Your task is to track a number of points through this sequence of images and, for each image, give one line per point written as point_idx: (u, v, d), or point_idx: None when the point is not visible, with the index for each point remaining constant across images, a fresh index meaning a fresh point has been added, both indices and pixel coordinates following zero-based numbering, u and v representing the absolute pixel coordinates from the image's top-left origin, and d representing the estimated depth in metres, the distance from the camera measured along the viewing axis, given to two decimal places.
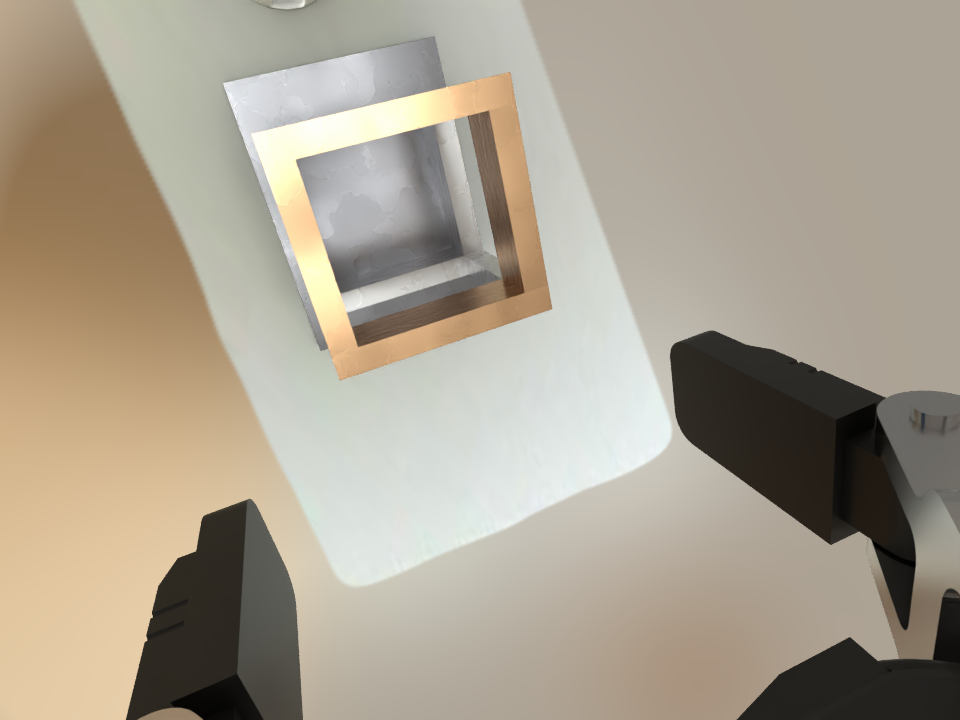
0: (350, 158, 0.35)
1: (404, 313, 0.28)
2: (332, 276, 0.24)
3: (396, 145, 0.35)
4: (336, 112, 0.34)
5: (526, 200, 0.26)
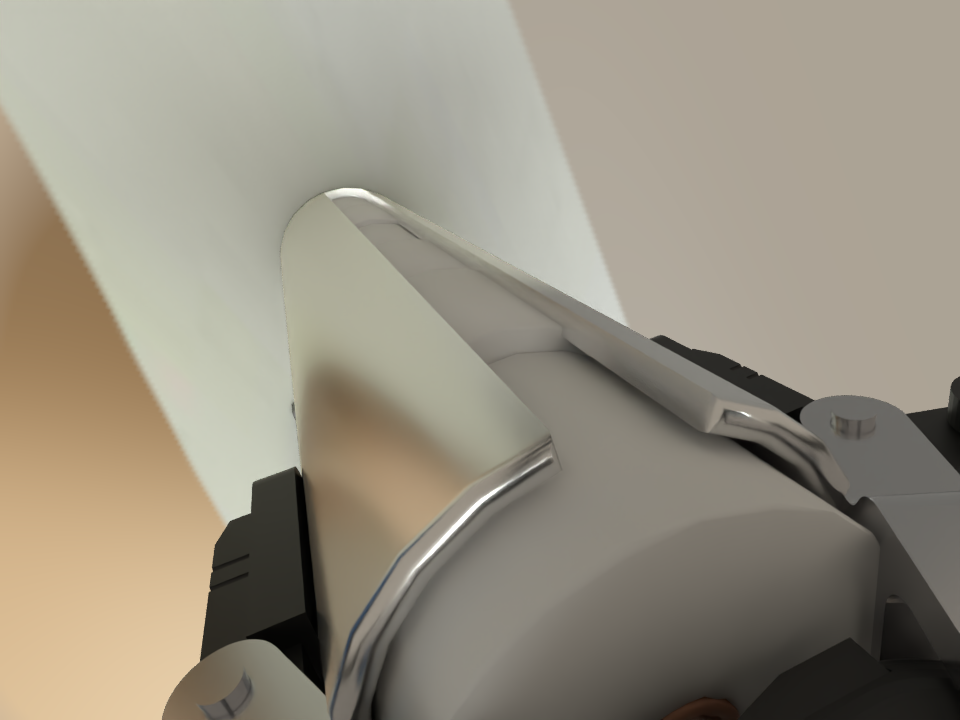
0: None
1: None
2: None
3: None
4: None
5: None
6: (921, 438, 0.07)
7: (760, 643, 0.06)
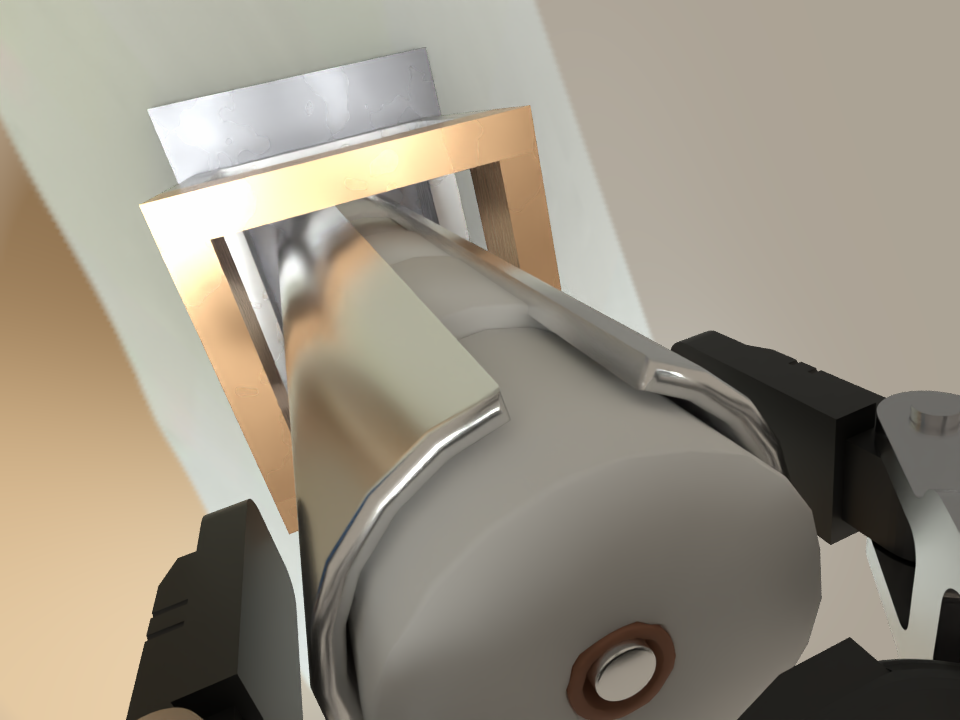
0: None
1: None
2: (273, 399, 0.17)
3: None
4: (299, 144, 0.26)
5: (551, 282, 0.18)
6: None
7: (687, 574, 0.06)
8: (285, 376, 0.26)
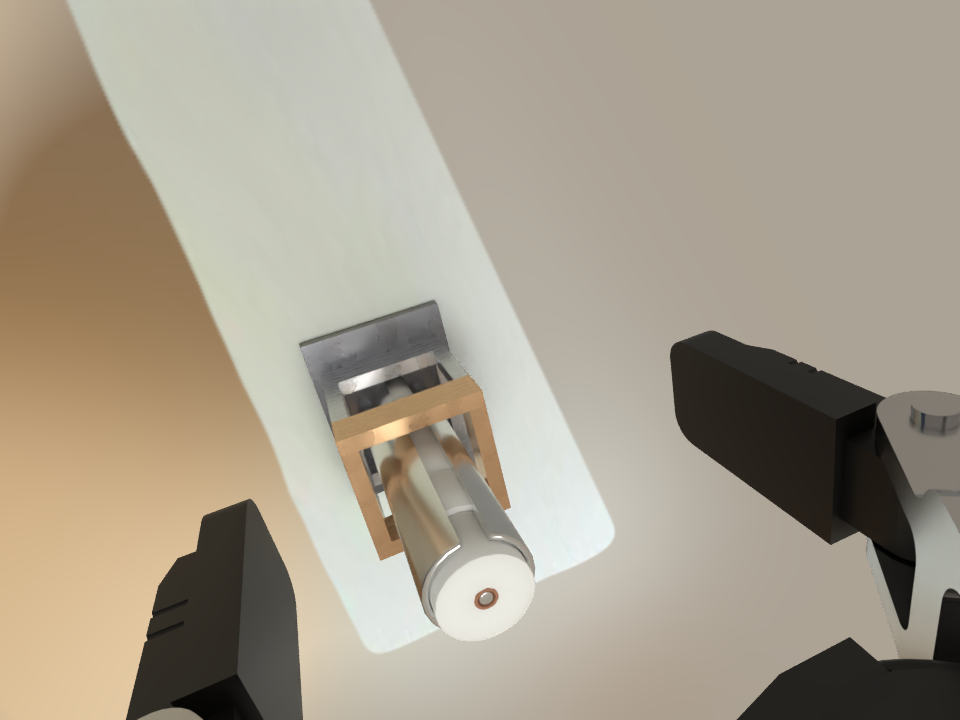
0: None
1: None
2: (377, 506, 0.41)
3: None
4: (372, 355, 0.51)
5: (493, 452, 0.43)
6: None
7: (498, 578, 0.31)
8: None
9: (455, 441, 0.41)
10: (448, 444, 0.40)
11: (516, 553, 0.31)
